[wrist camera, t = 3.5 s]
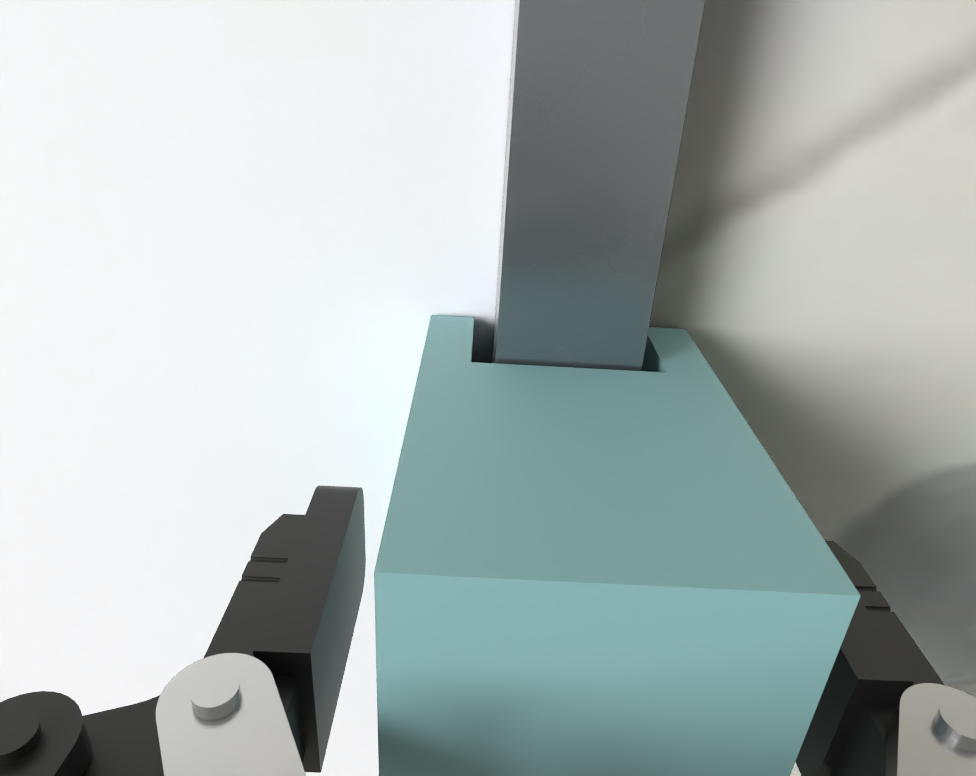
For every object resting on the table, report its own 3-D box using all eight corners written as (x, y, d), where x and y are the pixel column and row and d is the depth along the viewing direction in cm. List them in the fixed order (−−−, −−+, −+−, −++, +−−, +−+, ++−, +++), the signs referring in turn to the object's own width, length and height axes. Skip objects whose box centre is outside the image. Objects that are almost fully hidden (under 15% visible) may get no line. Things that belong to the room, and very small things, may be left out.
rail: (863, -673, 8) (1124, -1172, 5) (615, 633, 17) (644, 775, 14) (469, -705, 8) (455, -1234, 4) (434, 625, 17) (419, 765, 14)
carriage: (685, 328, 13) (861, 595, 7) (637, 573, 16) (730, 923, 10) (431, 314, 13) (374, 572, 7) (426, 563, 16) (382, 911, 9)
